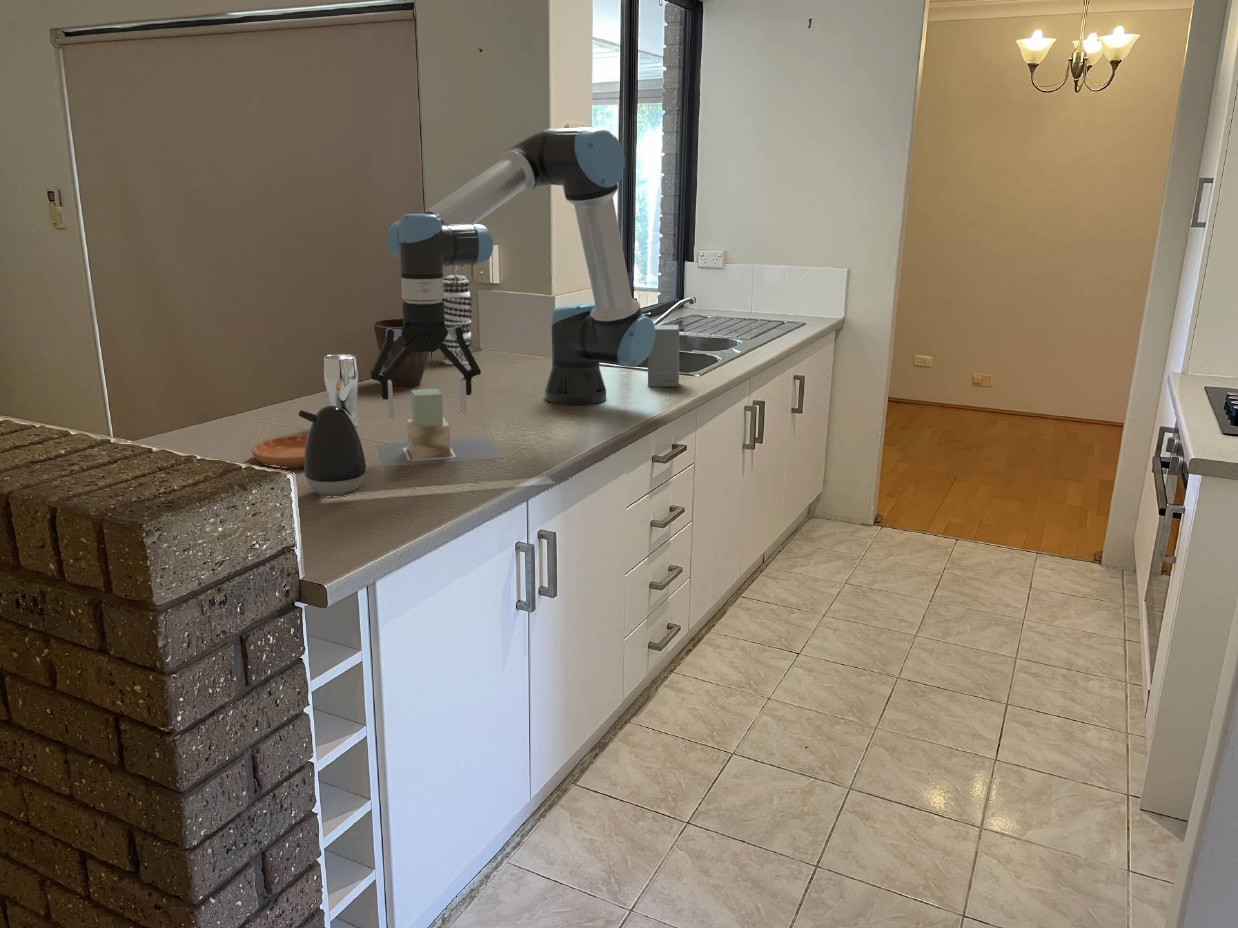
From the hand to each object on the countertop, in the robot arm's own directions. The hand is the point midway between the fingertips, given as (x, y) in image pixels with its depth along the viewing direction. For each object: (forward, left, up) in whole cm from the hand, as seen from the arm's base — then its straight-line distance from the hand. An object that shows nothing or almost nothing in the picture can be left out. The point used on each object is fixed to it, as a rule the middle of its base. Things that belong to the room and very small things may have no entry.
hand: (427, 414), depth 180 cm
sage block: (0, 0, -2) cm, 2 cm away
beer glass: (+14, -31, -9) cm, 35 cm away
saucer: (+24, -7, -9) cm, 27 cm away
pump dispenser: (+18, +16, -9) cm, 26 cm away
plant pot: (-4, -71, -9) cm, 72 cm away
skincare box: (-69, -54, -9) cm, 88 cm away
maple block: (0, 0, -8) cm, 8 cm away
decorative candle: (-22, -99, -9) cm, 102 cm away
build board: (-2, -1, -9) cm, 9 cm away
